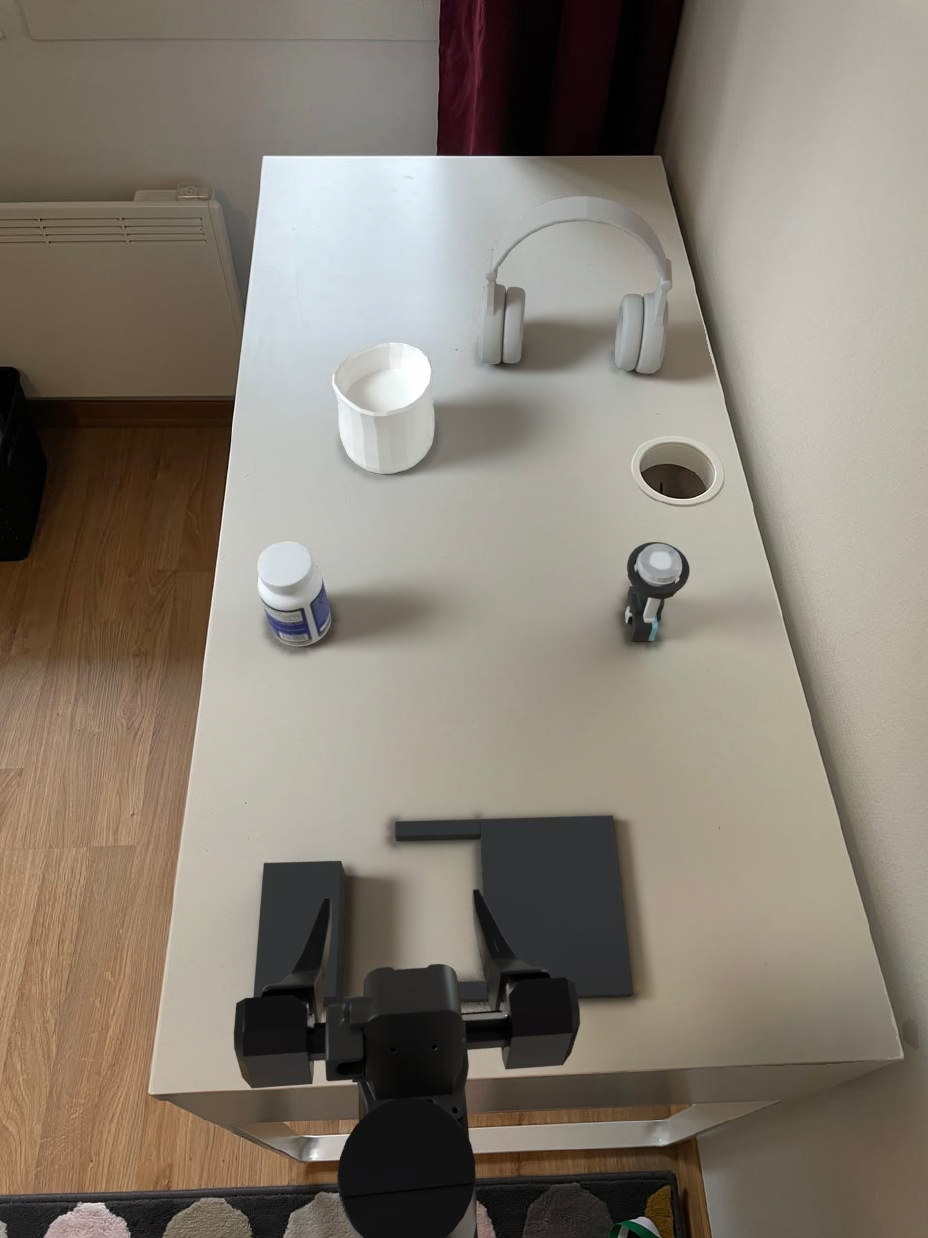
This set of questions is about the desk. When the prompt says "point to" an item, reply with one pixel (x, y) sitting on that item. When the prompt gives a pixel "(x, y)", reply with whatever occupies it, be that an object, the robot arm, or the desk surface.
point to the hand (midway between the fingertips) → (402, 896)
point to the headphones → (637, 316)
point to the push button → (652, 585)
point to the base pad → (549, 895)
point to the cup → (385, 406)
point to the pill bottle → (293, 594)
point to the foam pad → (299, 921)
